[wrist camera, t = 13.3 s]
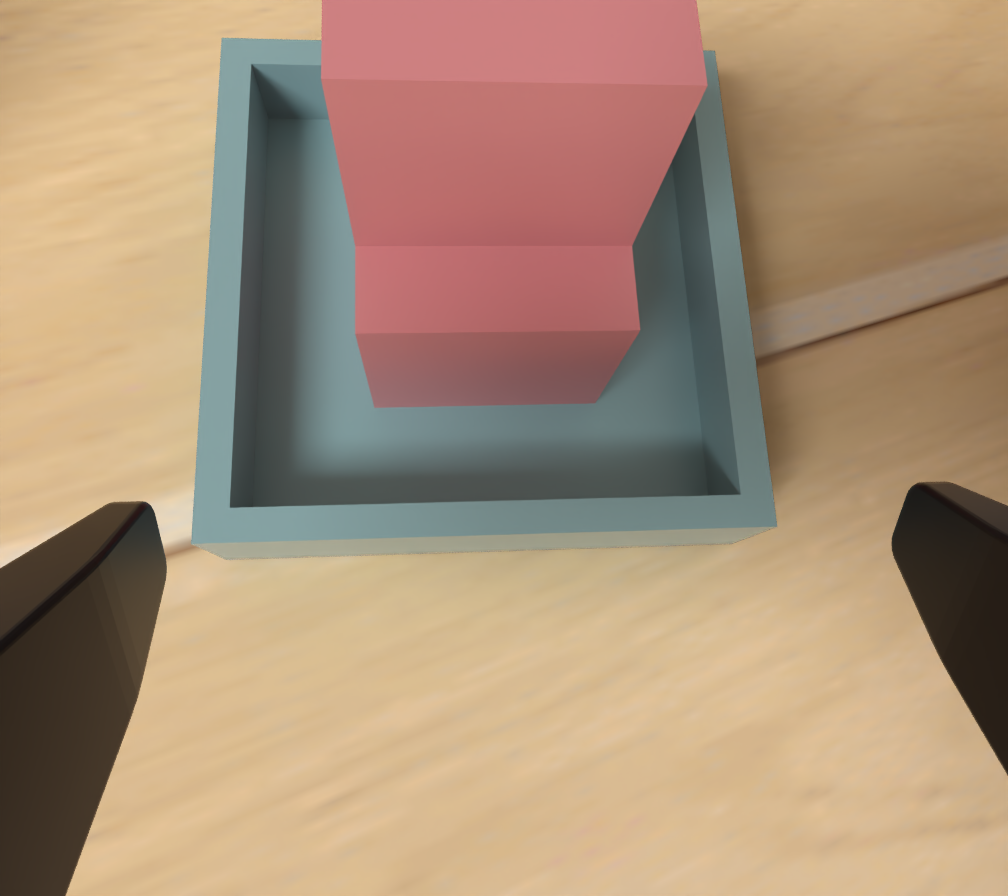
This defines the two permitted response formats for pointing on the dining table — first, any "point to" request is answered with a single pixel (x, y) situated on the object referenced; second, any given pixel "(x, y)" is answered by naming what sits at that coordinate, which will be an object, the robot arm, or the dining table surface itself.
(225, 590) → the dining table surface
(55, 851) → the robot arm
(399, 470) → the tray
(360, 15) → the red stepped block
